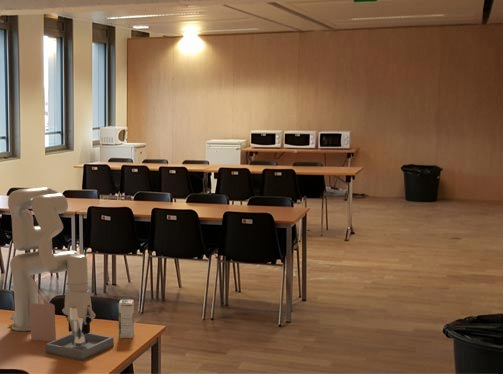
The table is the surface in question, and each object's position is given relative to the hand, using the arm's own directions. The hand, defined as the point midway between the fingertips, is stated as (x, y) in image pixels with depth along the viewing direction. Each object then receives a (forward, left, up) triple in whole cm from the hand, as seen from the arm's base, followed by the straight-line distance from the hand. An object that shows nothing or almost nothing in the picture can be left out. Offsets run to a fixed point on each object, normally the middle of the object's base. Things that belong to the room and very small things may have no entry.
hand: (79, 331), depth 277 cm
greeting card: (-21, +2, -7) cm, 22 cm away
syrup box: (+6, +21, -7) cm, 23 cm away
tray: (0, 0, -7) cm, 7 cm away
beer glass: (0, 0, -5) cm, 5 cm away
